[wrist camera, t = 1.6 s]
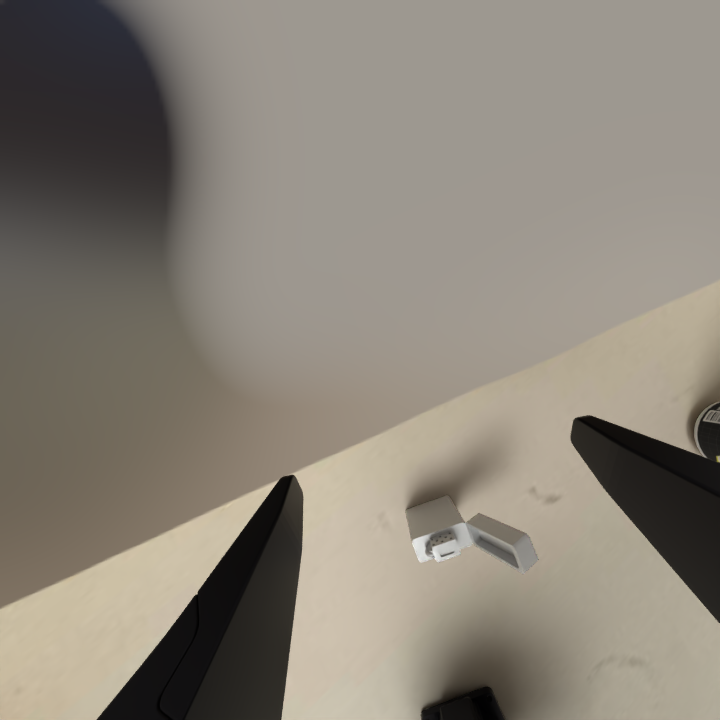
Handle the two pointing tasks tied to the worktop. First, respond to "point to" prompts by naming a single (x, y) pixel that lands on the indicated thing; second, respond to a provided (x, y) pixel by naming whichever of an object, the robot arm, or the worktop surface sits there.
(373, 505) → the worktop surface
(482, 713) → the robot arm
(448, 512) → the lighter
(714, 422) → the beverage can
